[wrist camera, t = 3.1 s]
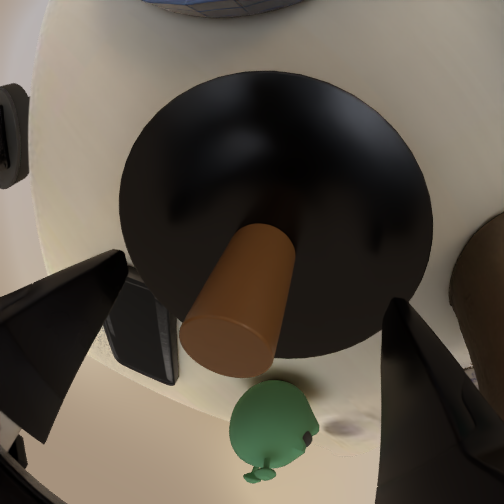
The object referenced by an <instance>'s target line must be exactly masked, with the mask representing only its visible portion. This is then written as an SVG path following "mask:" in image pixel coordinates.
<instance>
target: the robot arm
mask: <svg viewBox="0 0 504 504" xmlns="http://www.w3.org/2000/svg"><path fill="white" fill-rule="evenodd" d="M8 168H10V158H9V152H8V146H7V139H6V131H5V121H4V109H3V105H2V104H1V105H0V170H6V169H8ZM128 274H129V269H128V265H127V261H126V257H125V253H124V252H123V251H121V250H117V249H112V250H110V251H107V252H105V253H102V254H100V255H97V256H95V257H92V258H90V259H87V260H85V261H82V262H80V263H78V264H75V265H73V266H71V267H68V268H66V269H64V270H61V271H59V272H57V273H54V274H52V275H50V276H47V277H45V278H43V279H41V280H38V281H36V282H34V283H33V284H30V285H27V286H25V287H23V288H21V289H19V290H17V291H14V292H12V293H9V294H7V295H4V296H2V297H0V504H67V503H65V502H64V501H63V500H61V499H60V498H58V497H57V496H56V495H55V494H53V493H52V492H51V491H49V490H48V489H47V488H46V487H45V486H43V485H42V484H41V483H39V481H37V480H36V479H35V478H34V477H33V476H32V475H31V474H29V473H28V472H27V471H26V470H25V468H26V467H27V465H28V463H27V458H26V453H25V447H24V441H23V437H22V436H20V435H19V432H20V430H21V429H23V430H25V431H26V432H27V433H29V434H30V435H31V436H33V437H34V438H35V439H37V440H38V441H40V442H41V443H43V444H45V442H46V440H47V438H48V435H49V433H50V430H51V428H52V426H53V423H54V421H55V418H56V416H57V414H58V412H59V409H60V407H61V405H62V403H63V399H64V398H65V396H66V394H67V392H68V390H69V388H70V386H71V384H72V382H73V380H74V378H75V375H76V373H77V372H78V370H79V368H80V366H81V364H82V362H83V360H84V358H85V356H86V354H87V352H88V350H89V349H90V347H91V345H92V343H93V341H94V339H95V338H96V336H97V334H98V332H99V331H100V329H101V327H102V325H103V324H104V322H105V320H106V318H107V317H108V315H109V313H110V311H111V310H112V308H113V306H114V304H115V301H116V299H117V297H118V295H119V293H120V291H121V289H122V287H123V285H124V283H125V281H126V279H127V277H128ZM377 486H378V487H377V491H376V499H375V504H504V421H503V420H502V419H501V418H500V416H499V415H498V414H497V413H496V411H495V410H494V409H493V408H492V407H491V405H490V404H489V403H488V401H487V400H486V399H485V398H484V396H483V395H482V394H481V393H480V391H479V390H478V388H477V387H476V386H475V384H474V383H473V382H472V380H471V379H470V378H469V376H468V375H466V372H465V371H464V370H463V368H462V367H461V366H460V364H459V363H458V362H457V360H456V359H455V358H454V357H453V355H452V354H451V353H450V351H449V350H448V349H447V348H446V346H445V345H444V344H443V343H442V341H441V340H440V339H439V338H438V337H437V335H436V334H435V333H434V332H433V330H432V329H431V328H430V327H429V326H428V325H427V323H426V322H425V321H424V320H423V319H422V317H421V316H420V315H419V314H418V313H417V312H416V310H415V309H414V308H413V307H412V306H411V305H410V304H409V303H408V301H407V300H406V299H404V298H398V297H394V298H392V299H391V301H390V303H389V305H388V308H387V310H386V312H385V314H384V317H383V321H382V346H381V446H380V462H379V474H378V483H377Z"/></svg>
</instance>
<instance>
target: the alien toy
mask: <svg viewBox="0 0 504 504" xmlns="http://www.w3.org/2000/svg"><path fill="white" fill-rule="evenodd" d="M318 431H319V424H318V422H317V420H316V418H315V416H314V414H313V412H312V410H311V407H310V405H309V403H308V400H307V398H306V396H305V395H304V393H303V392H302V391H301V390H300V389H298V388H297V387H296V386H294V385H293V384H291V383H288V382H285V381H280V380H269V381H264V382H261V383H259V384H257V385H254V386H253V387H251V388H250V389H249V390H248V391H246V392H245V393H244V394H243V396H242V397H241V398H240V399H239V401H238V402H237V404H236V405H235V407H234V410H233V412H232V416H231V420H230V427H229V436H230V441H231V445H232V447H233V449H234V451H235V453H236V454H237V455H238V456H239V458H240V459H242V460H243V461H245V462H246V463H248V464H250V465H252V466H254V467H253V470H252V472H251V473H247V474H244V476H243V477H244V479H245V480H246V481H247V482H249V483H257V482H260V481H261V480H264V481H266V480H270V479H273V478H274V477H275V476H276V472H275V471H274V470H272V469H271V468H279V467H283V466H285V465H287V464H289V463H291V462H292V461H294V460H295V459H296V458H298V457H299V456H301V455H302V454H304V453H305V449H306V447H308V446H309V445H310V444H311V442H312V436H314V435H315V434H317V433H318ZM259 467H260V468H259Z"/></svg>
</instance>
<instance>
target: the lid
mask: <svg viewBox="0 0 504 504" xmlns="http://www.w3.org/2000/svg"><path fill="white" fill-rule="evenodd" d="M119 215H120V222H121V229H122V233H123V237H124V241H125V244H126V248H127V250H128V253H129V255H130V258H131V260H132V262H133V264H134V266H135V268H136V270H137V272H138V273H139V275H140V277H141V278H142V280H143V281H144V283H145V284H146V286H147V287H148V289H149V290H150V291H151V292H152V294H153V295H154V296H155V297H156V298H157V300H158V301H159V302H160V303H161V304H162V305H163V306H164V307H165V308H166V309H167V310H168V311H169V312H170V313H171V314H173V315H174V316H175V317H176V318H178V319H179V320H180V321H181V322H182V325H181V327H180V330H179V338H180V342H181V345H182V347H183V348H184V350H185V351H186V353H187V354H188V355H189V356H190V357H191V358H192V359H193V360H195V361H196V362H197V363H198V364H200V365H201V366H203V367H205V368H207V369H209V370H211V371H213V372H215V373H218V374H221V375H224V376H229V377H235V378H250V377H255V376H258V375H261V374H263V373H265V372H266V371H267V370H268V369H269V368H270V367H271V365H272V363H273V360H274V358H285V359H292V358H309V357H316V356H322V355H326V354H331V353H335V352H338V351H341V350H344V349H347V348H349V347H352V346H354V345H356V344H358V343H360V342H362V341H364V340H366V339H368V338H369V337H371V336H373V335H374V334H376V333H377V332H379V331H380V330H381V329H382V321H383V317H384V314H385V312H386V310H387V308H388V305H389V303H390V301H391V299H392V298H394V297H398V298H404V299H406V300H407V301H408V302H409V301H410V299H411V298H412V296H413V295H414V293H415V292H416V290H417V288H418V286H419V284H420V282H421V280H422V278H423V275H424V273H425V270H426V267H427V264H428V261H429V256H430V251H431V246H432V239H433V215H432V208H431V201H430V196H429V192H428V189H427V186H426V182H425V179H424V176H423V174H422V171H421V169H420V167H419V165H418V163H417V161H416V159H415V157H414V155H413V153H412V152H411V150H410V149H409V147H408V146H407V145H406V143H405V142H404V140H403V139H402V138H401V136H400V135H399V134H398V132H397V131H396V130H395V129H394V128H393V127H392V126H391V125H390V124H389V123H388V122H387V121H386V120H385V119H384V118H383V117H382V116H381V115H380V114H379V113H378V112H377V111H376V110H374V109H373V108H371V107H370V106H369V105H367V104H366V103H364V102H363V101H362V100H360V99H359V98H357V97H356V96H354V95H353V94H351V93H349V92H347V91H345V90H343V89H341V88H338V87H336V86H334V85H332V84H330V83H328V82H325V81H321V80H318V79H315V78H312V77H308V76H305V75H301V74H295V73H287V72H279V71H249V72H241V73H235V74H230V75H226V76H221V77H218V78H215V79H212V80H209V81H207V82H204V83H201V84H199V85H196V86H195V87H193V88H191V89H189V90H187V91H186V92H184V93H182V94H181V95H179V96H177V97H176V98H174V99H173V100H172V101H171V102H169V103H168V104H167V105H166V106H164V107H163V108H162V109H161V110H160V111H158V113H157V114H156V115H155V116H154V117H153V118H152V119H151V120H150V121H149V123H148V124H147V125H146V126H145V127H144V129H143V130H142V132H141V133H140V135H139V137H138V138H137V140H136V141H135V143H134V145H133V147H132V149H131V151H130V154H129V156H128V158H127V160H126V163H125V167H124V171H123V174H122V178H121V185H120V193H119Z"/></svg>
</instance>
